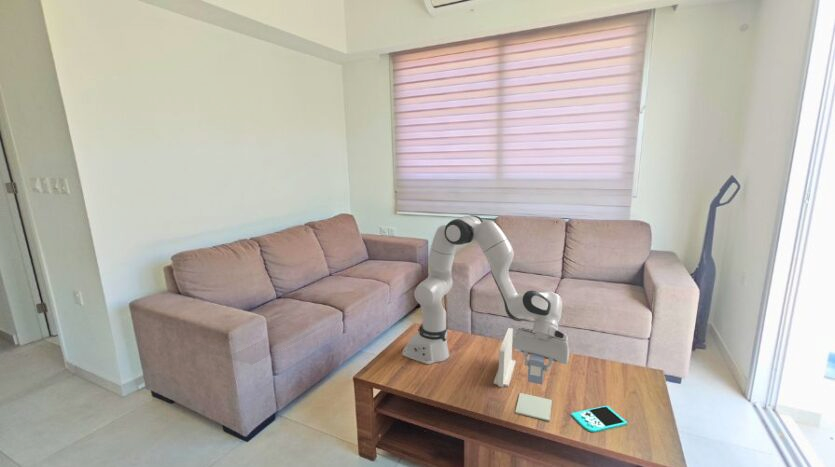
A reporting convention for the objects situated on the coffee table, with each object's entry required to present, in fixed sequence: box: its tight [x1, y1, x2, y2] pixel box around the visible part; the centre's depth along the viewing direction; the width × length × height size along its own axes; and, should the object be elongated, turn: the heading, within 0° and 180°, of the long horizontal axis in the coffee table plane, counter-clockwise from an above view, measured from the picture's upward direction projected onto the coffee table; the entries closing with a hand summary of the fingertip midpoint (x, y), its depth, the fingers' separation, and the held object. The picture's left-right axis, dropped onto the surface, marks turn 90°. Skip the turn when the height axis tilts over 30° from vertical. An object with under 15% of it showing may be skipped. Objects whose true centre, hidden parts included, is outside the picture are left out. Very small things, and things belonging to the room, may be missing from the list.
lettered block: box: [527, 353, 545, 385], centre depth 138 cm, size 5×5×9 cm
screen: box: [493, 327, 516, 388], centre depth 162 cm, size 6×22×16 cm, turn 157°
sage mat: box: [515, 392, 553, 422], centre depth 141 cm, size 12×12×1 cm
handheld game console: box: [571, 405, 628, 433], centre depth 135 cm, size 10×16×1 cm, turn 105°
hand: (535, 368), depth 138 cm, fingers closed on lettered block, 5 cm apart
